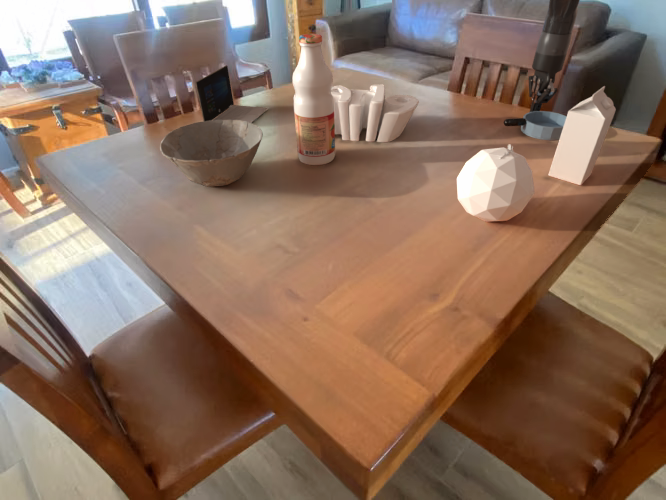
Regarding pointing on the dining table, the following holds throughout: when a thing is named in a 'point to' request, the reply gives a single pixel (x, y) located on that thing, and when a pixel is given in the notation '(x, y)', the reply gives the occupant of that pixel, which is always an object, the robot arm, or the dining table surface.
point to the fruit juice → (313, 104)
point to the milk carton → (582, 138)
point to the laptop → (222, 99)
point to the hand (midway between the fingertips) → (533, 115)
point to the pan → (540, 124)
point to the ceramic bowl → (213, 150)
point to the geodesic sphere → (495, 184)
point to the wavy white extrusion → (371, 113)
